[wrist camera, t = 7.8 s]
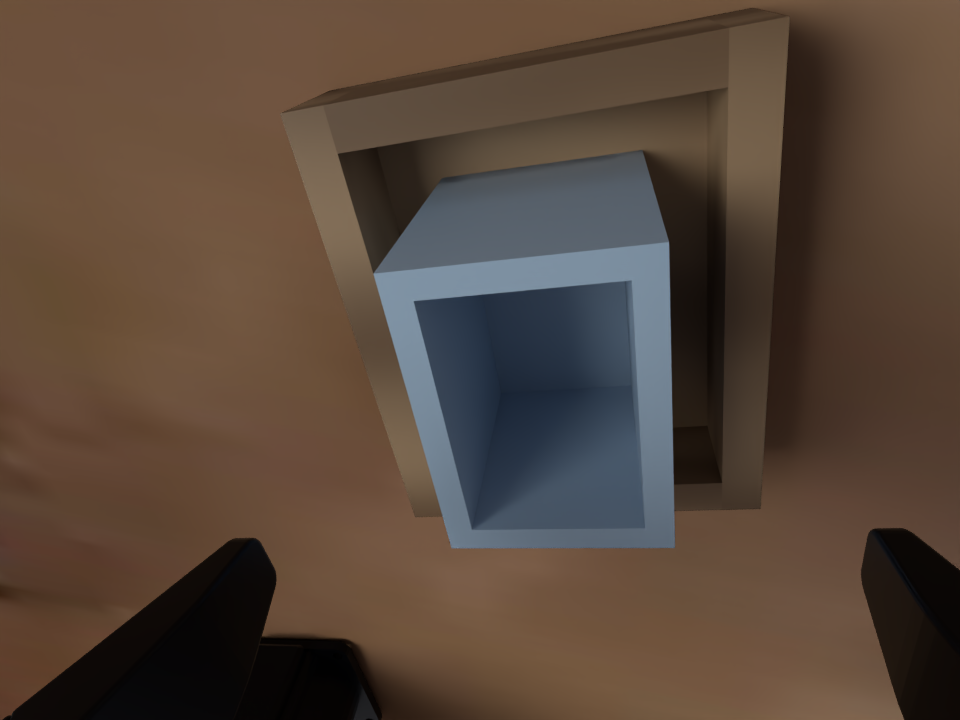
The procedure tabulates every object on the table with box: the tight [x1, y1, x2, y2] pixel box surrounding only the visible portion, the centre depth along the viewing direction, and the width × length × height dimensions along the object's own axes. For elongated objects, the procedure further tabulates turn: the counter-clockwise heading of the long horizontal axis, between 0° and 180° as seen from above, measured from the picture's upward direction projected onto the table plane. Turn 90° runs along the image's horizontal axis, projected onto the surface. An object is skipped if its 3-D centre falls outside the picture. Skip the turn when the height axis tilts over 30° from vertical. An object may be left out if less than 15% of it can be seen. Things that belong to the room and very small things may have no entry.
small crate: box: [374, 150, 675, 548], centre depth 15 cm, size 7×5×6 cm
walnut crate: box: [280, 8, 790, 517], centre depth 16 cm, size 12×10×3 cm
